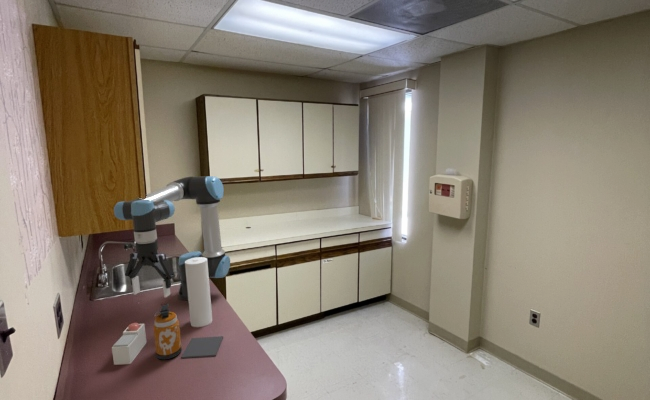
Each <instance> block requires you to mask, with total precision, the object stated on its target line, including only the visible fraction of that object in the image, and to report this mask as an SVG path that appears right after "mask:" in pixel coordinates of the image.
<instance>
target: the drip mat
mask: <svg viewBox="0 0 650 400" xmlns="http://www.w3.org/2000/svg"><path fill="white" fill-rule="evenodd" d="M223 340H224V336H223V335H222V336H221V335H220V336H205V337H203V336H202V337H192V338H191V339H190V340H189V342H188V344H187V345H186V347H185V349H184V350H183V353H182V355H181V356H180V359H188V358H189V359H190V358H191V359H193V358H194V359H195V358H207V357H208V358H210V357H217V355H218V352H219V349H220V347H221V344H222V343H223V342H222V341H223Z"/></svg>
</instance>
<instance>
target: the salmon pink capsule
mask: <svg viewBox="0 0 650 400" xmlns="http://www.w3.org/2000/svg"><path fill="white" fill-rule="evenodd" d="M139 324H140V323H138V322H132V323H130V324H129V325H128V326H127V327H128V328H129V331H137V330H138V329H139Z"/></svg>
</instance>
